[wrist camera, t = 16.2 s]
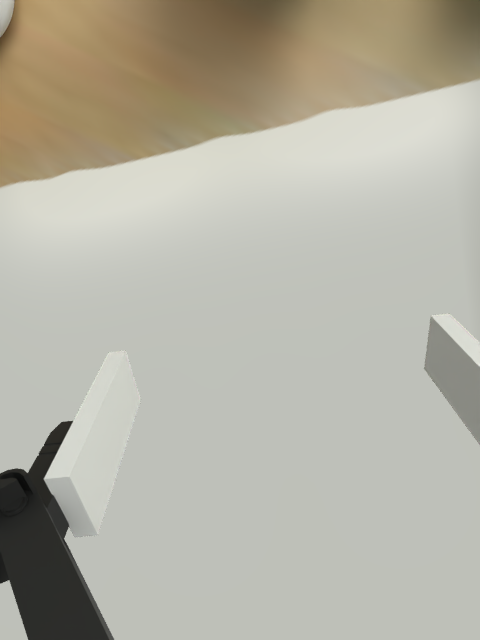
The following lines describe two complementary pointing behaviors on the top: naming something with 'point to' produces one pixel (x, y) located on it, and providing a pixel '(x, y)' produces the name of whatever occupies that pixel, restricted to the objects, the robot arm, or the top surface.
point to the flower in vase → (5, 14)
